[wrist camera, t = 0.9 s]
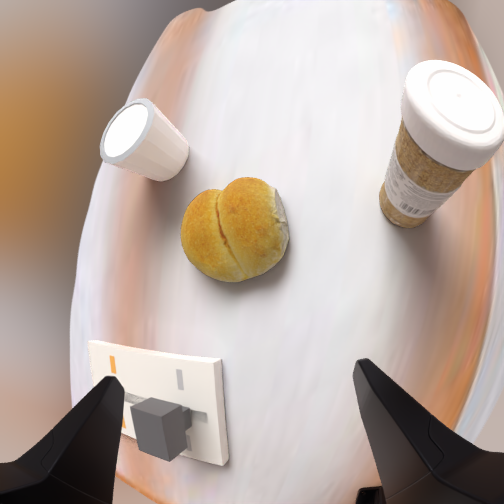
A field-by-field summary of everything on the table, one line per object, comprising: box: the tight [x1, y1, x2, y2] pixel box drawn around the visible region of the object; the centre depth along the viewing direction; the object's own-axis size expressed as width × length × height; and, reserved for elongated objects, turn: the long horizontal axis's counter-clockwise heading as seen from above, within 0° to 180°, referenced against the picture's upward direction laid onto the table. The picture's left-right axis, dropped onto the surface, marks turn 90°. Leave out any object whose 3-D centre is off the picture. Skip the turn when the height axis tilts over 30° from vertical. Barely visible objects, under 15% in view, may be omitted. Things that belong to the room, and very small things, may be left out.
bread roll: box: [181, 177, 289, 282], centre depth 22 cm, size 8×9×4 cm
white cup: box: [100, 98, 189, 182], centre depth 24 cm, size 7×7×7 cm
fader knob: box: [130, 397, 192, 462], centre depth 19 cm, size 4×3×5 cm
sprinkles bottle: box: [379, 60, 504, 228], centre depth 13 cm, size 5×5×13 cm
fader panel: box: [88, 340, 229, 466], centre depth 24 cm, size 11×17×2 cm, turn 92°
